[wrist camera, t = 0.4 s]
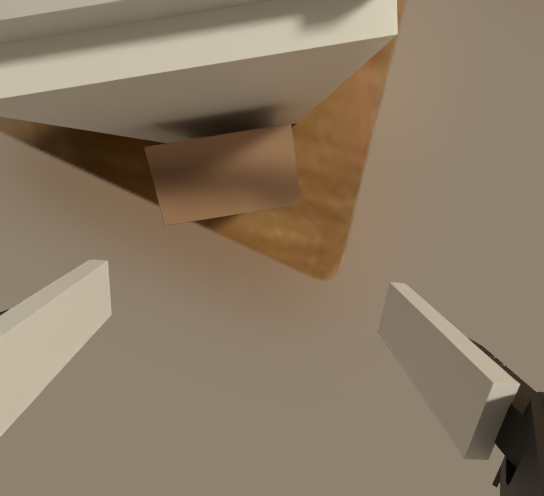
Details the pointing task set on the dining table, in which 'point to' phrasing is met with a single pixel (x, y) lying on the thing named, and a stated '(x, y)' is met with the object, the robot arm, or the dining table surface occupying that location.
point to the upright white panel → (181, 62)
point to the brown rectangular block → (225, 174)
